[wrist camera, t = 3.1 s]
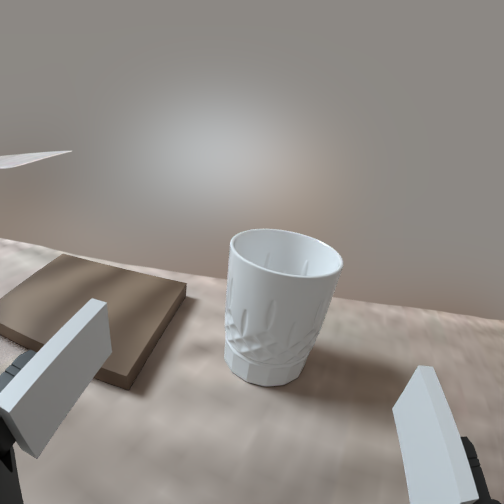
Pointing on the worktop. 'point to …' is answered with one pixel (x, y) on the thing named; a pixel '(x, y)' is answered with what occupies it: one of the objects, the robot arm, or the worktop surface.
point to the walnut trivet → (78, 294)
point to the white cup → (276, 302)
